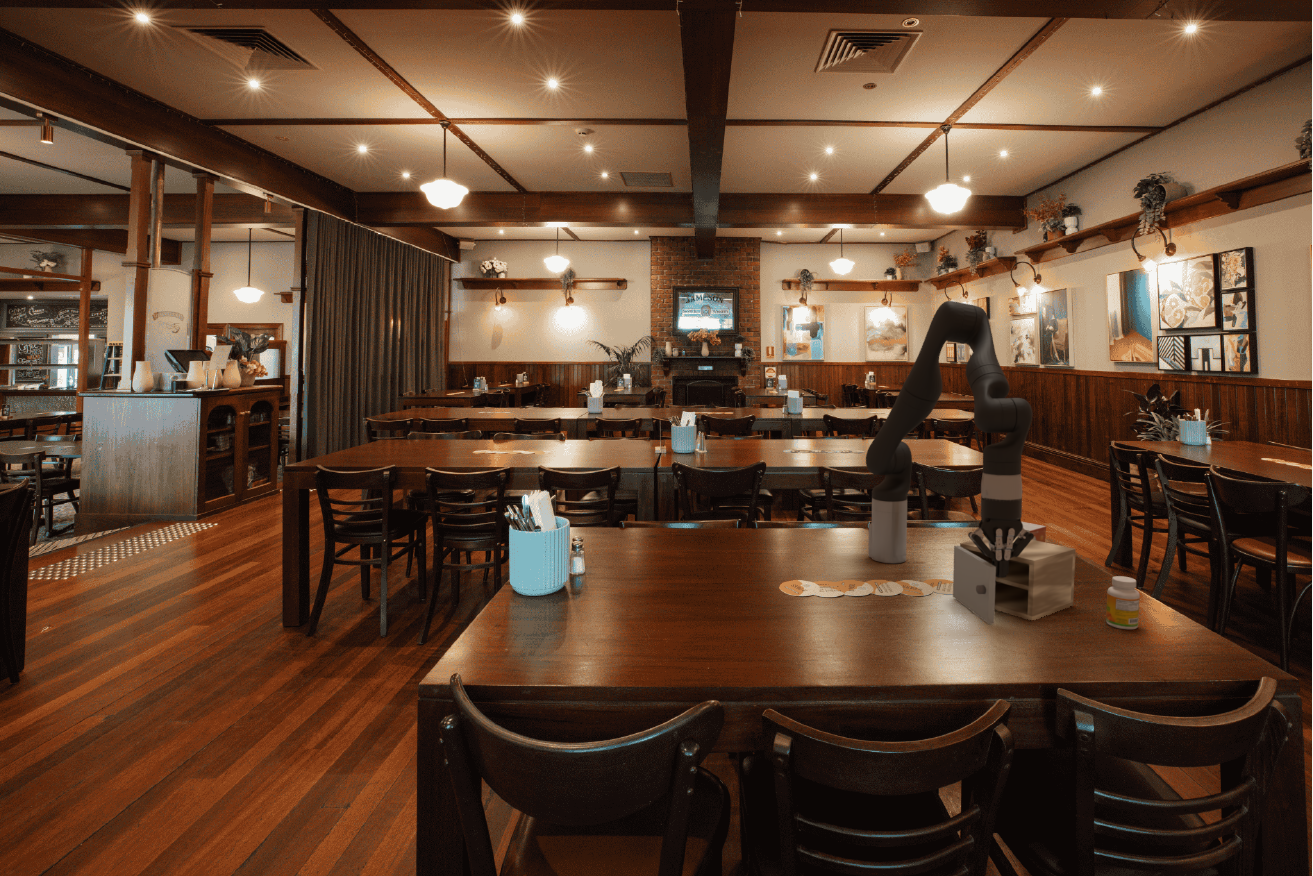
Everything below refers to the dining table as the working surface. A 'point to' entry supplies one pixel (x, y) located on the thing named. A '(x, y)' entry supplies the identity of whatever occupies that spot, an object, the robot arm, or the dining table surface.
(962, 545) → the cabinet
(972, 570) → the door
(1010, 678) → the dining table surface
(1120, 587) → the supplement bottle
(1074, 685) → the dining table surface
